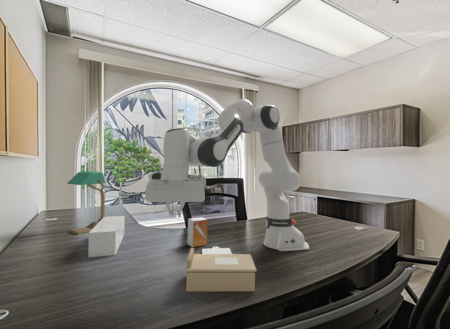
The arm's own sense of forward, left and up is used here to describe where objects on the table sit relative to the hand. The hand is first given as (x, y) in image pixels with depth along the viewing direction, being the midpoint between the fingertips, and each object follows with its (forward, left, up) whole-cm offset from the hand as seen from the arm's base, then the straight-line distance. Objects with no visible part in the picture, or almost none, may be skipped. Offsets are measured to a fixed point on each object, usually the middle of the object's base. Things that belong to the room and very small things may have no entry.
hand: (175, 214), depth 83 cm
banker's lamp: (+61, -63, -23) cm, 91 cm away
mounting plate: (-15, -22, -24) cm, 36 cm away
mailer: (-16, 0, -23) cm, 28 cm away
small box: (-5, -38, -23) cm, 45 cm away
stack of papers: (+39, -38, -24) cm, 59 cm away
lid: (-16, 0, -17) cm, 23 cm away
